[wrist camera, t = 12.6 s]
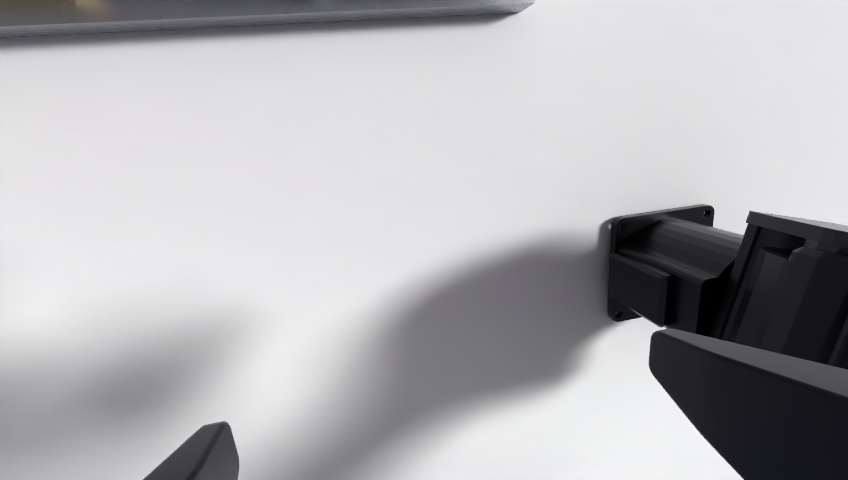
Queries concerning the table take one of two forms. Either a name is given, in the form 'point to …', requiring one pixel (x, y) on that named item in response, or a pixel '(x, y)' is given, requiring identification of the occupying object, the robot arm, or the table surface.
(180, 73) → the table surface
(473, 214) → the table surface
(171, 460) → the robot arm
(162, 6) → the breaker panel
